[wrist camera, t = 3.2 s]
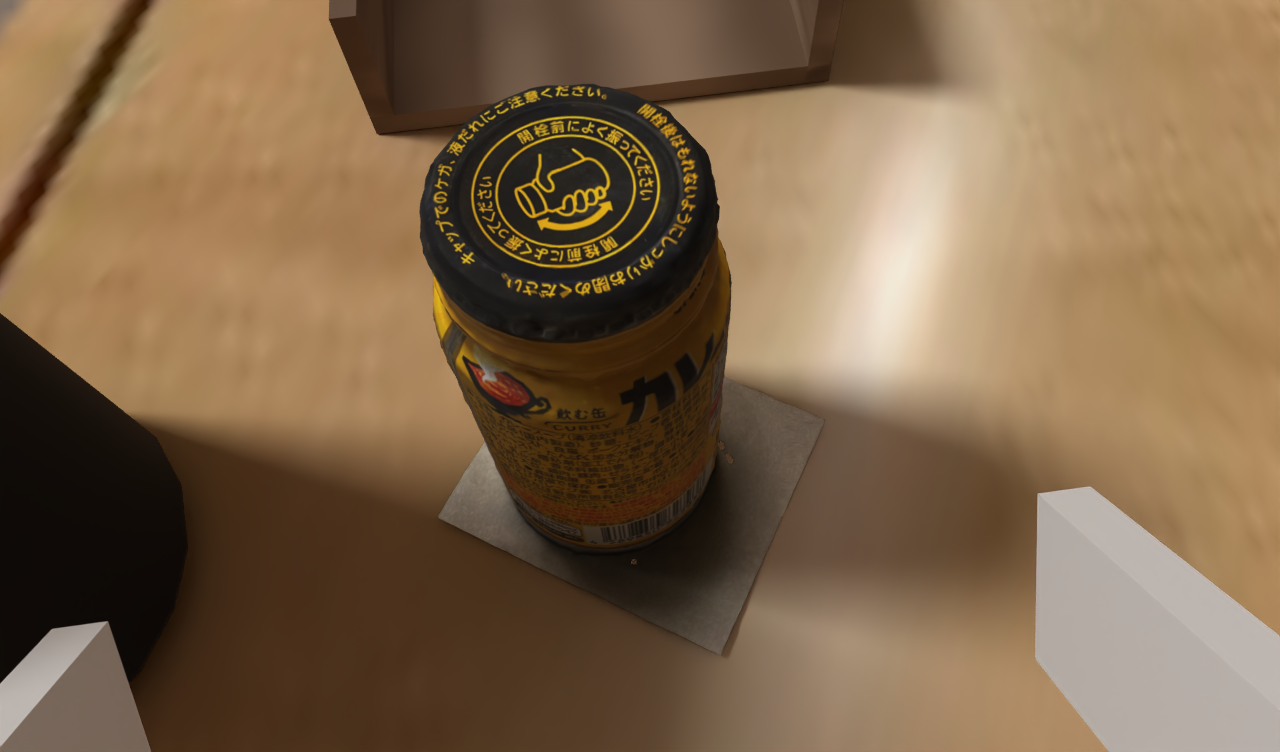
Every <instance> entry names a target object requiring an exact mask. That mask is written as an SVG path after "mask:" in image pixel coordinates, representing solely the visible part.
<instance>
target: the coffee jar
mask: <svg viewBox="0 0 1280 752" xmlns="http://www.w3.org/2000/svg"><path fill="white" fill-rule="evenodd" d="M187 549H188V544H187V534H186V525H185V515H184V506H183V496H182V489H181V484H180V482H179V480H178V478H177V476H176V474H175V472H174V470H173V468H172V466H171V465H170V463H169V461H168V459H167V457H166V455H165V453H164V451H163V449H162V447H161V446H160V444H159V442H158V440H157V438H156V437H155V436H153V435H152V434H151V433H150V432H148V431H147V430H146V429H145V428H144V427H142V426H141V425H140V424H139V423H137V422H136V421H135V420H134V419H132V418H131V417H130V416H129V415H127V414H126V413H125V412H124V411H123V410H121V409H120V408H119V407H118V406H116V405H115V404H114V403H113V402H111V401H110V400H109V399H108V398H106V397H105V396H104V395H103V394H101V393H100V392H99V391H97V390H96V389H95V388H94V387H92V386H91V385H90V384H89V383H87V382H86V381H85V380H84V379H82V378H81V377H80V376H79V375H77V374H76V373H75V372H74V371H72V370H71V369H70V368H69V367H67V366H66V365H65V364H64V363H62V362H61V361H60V360H58V359H57V358H56V357H55V356H53V355H52V354H51V353H50V352H48V351H47V350H46V349H45V348H43V347H42V346H41V345H40V344H38V343H37V342H36V341H35V340H33V339H32V338H31V337H30V336H28V335H27V334H26V333H24V332H23V331H22V330H21V329H19V328H18V327H17V326H16V325H14V324H13V323H12V322H11V321H9V320H8V319H7V318H6V317H4V316H3V315H2V314H1V313H0V683H1V682H2V681H3V680H4V679H5V678H6V677H7V676H8V675H9V674H10V673H11V672H12V671H13V670H14V669H15V668H16V666H17V665H18V664H19V663H20V662H21V661H22V660H23V659H24V658H25V657H26V656H27V655H28V654H29V653H30V652H31V651H32V650H33V648H34V647H35V646H36V645H37V644H38V643H39V642H40V641H41V640H42V639H43V638H44V637H45V636H46V635H47V634H48V633H49V632H50V630H51V629H55V628H62V627H70V626H77V625H84V624H91V623H99V622H106V621H108V623H109V626H110V629H111V632H112V635H113V638H114V641H115V644H116V647H117V650H118V653H119V656H120V659H121V662H122V665H123V668H124V671H125V674H126V677H127V680H128V683H130V682H131V681H132V679H133V678H134V677H135V676H136V675H137V674H138V673H139V672H140V671H141V669H142V667H143V666H144V664H145V662H146V660H147V658H148V656H149V654H150V653H151V651H152V649H153V647H154V645H155V643H156V641H157V640H158V638H159V636H160V634H161V632H162V630H163V629H164V627H165V625H166V623H167V621H168V619H169V617H170V616H171V614H172V612H173V610H174V608H175V603H176V599H177V594H178V590H179V585H180V581H181V576H182V572H183V567H184V563H185V558H186V554H187Z"/></svg>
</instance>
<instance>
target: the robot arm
mask: <svg viewBox="0 0 1280 752" xmlns="http://www.w3.org/2000/svg"><path fill="white" fill-rule="evenodd" d="M1035 659H1036V661H1037V662H1038V663H1039V664H1040V666H1041V667H1042V668H1043V669H1044V671H1045V672H1046V673H1047V674H1048V676H1049V677H1050V678H1051V680H1052V681H1053V682H1054V683H1055V685H1056V686H1057V687H1058V688H1059V690H1060V691H1061V692H1062V693H1063V695H1064V696H1065V697H1066V698H1067V700H1068V701H1069V702H1070V703H1071V705H1072V706H1073V707H1074V708H1075V710H1076V711H1077V712H1078V713H1079V715H1080V716H1081V717H1082V718H1083V720H1084V721H1085V722H1086V724H1087V725H1088V726H1089V727H1090V729H1091V730H1092V731H1093V732H1094V734H1095V735H1096V736H1097V737H1098V739H1099V740H1100V741H1101V742H1102V744H1103V745H1104V746H1105V747H1106V749H1107V750H1108V751H1109V752H1280V636H1279V635H1278V634H1277V633H1275V632H1274V631H1273V630H1271V629H1270V628H1269V627H1268V626H1266V625H1265V624H1264V623H1263V622H1261V621H1260V620H1259V619H1258V618H1256V617H1255V616H1254V615H1252V614H1251V613H1250V612H1249V611H1247V610H1246V609H1245V608H1244V607H1242V606H1241V605H1240V604H1239V603H1237V602H1236V601H1235V600H1233V599H1232V598H1231V597H1230V596H1228V595H1227V594H1226V593H1225V592H1223V591H1222V590H1221V589H1220V588H1218V587H1217V586H1216V585H1214V584H1213V583H1212V582H1211V581H1209V580H1208V579H1207V578H1206V577H1204V576H1203V575H1202V574H1201V573H1199V572H1198V571H1197V570H1195V569H1194V568H1193V567H1192V566H1190V565H1189V564H1188V563H1187V562H1185V561H1184V560H1183V559H1182V558H1180V557H1179V556H1178V555H1176V554H1175V553H1174V552H1173V551H1171V550H1170V549H1169V548H1168V547H1166V546H1165V545H1164V544H1163V543H1161V542H1160V541H1159V540H1157V539H1156V538H1155V537H1154V536H1152V535H1151V534H1150V533H1149V532H1147V531H1146V530H1145V529H1144V528H1142V527H1141V526H1140V525H1138V524H1137V523H1136V522H1135V521H1133V520H1132V519H1131V518H1130V517H1128V516H1127V515H1126V514H1125V513H1123V512H1122V511H1121V510H1119V509H1118V508H1117V507H1116V506H1114V505H1113V504H1112V503H1111V502H1109V501H1108V500H1107V499H1106V498H1104V497H1103V496H1102V495H1100V494H1099V493H1098V492H1097V491H1095V490H1094V489H1093V488H1092V487H1090V486H1089V487H1082V488H1075V489H1067V490H1060V491H1053V492H1045V493H1038V498H1037V566H1036V635H1035ZM0 752H151V749H150V746H149V743H148V740H147V737H146V734H145V731H144V728H143V725H142V722H141V719H140V716H139V713H138V710H137V707H136V704H135V701H134V698H133V695H132V692H131V689H130V686H129V683H128V680H127V677H126V674H125V671H124V668H123V665H122V662H121V659H120V656H119V653H118V650H117V647H116V644H115V641H114V638H113V635H112V632H111V629H110V626H109V623H108V621H106V622H99V623H91V624H84V625H77V626H70V627H62V628H55V629H51V630H50V632H49V633H48V634H47V635H46V636H45V637H44V638H43V639H42V640H41V641H40V642H39V643H38V644H37V645H36V646H35V647H34V648H33V650H32V651H31V652H30V653H29V654H28V655H27V656H26V657H25V658H24V659H23V660H22V661H21V662H20V663H19V664H18V665H17V666H16V668H15V669H14V670H13V671H12V672H11V673H10V674H9V675H8V676H7V677H6V678H5V679H4V680H3V681H2V682H1V683H0Z"/></svg>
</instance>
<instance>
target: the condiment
mask: <svg viewBox="0 0 1280 752" xmlns="http://www.w3.org/2000/svg"><path fill="white" fill-rule="evenodd" d="M717 200H718V198H717V194H716V188H715V180H714V177H713V175H712V170H711V163H710V160H709V156H708V154H707V152H706V150H705V149H704V148H703V147H702V146H701V145H700V144H699V143H698V142H697V141H696V140H695V139H694V138H693V137H692V136H691V135H690V134H689V133H688V131H687V130H686V129H685V128H684V127H683V126H682V125H681V124H680V123H679V122H678V121H677V120H676V119H675V118H674V117H673V116H672V114H671V113H670V112H669V111H667V110H666V109H664V108H662V107H659V106H657V105H655V104H654V103H652V102H650V101H648V100H645V99H642V98H640V97H639V96H637V95H633V94H631V93H629V92H624V91H620V90H616V89H613V88H610V87H601V86H598V85H596V84H578V85H563V86H558V85H546V86H540V87H534V88H530V89H527V90H525V91H523V92H520V93H518V94H515V95H513V96H510V97H507V98H505V99H503V100H501V101H499V102H497V103H495V104H493V105H491V106H489V107H487V108H486V109H484V110H483V111H481V112H479V113H478V114H476V115H475V116H473V117H472V118H470V119H469V120H468V121H467V122H466V123H465V124H464V125H463V126H462V127H461V128H460V129H459V130H458V131H457V132H456V134H455V135H454V137H453V138H452V139H451V140H450V142H449V143H448V144H447V145H446V146H445V147H444V149H443V150H442V151H441V152H440V154H439V155H438V156H437V157H436V158H435V160H434V162H433V163H432V164H431V165H430V169H429V172H428V174H427V176H426V179H425V189H424V192H423V195H422V199H421V203H420V218H421V227H420V229H421V230H420V239H421V242H422V246H423V254H424V256H425V258H426V260H427V263H428V265H429V267H430V268H431V270H432V273H433V277H434V285H433V317H434V321H435V324H436V330H437V333H438V336H439V339H440V344H441V348H442V349H443V351H444V353H445V356H446V358H447V362H448V364H449V366H450V368H451V369H452V371H453V373H454V374H455V376H456V378H457V380H458V383H459V386H460V388H461V390H462V392H463V396H464V399H465V401H466V403H467V404H468V405H469V407H470V409H471V411H472V414H473V416H474V418H475V421H476V423H477V425H478V427H479V429H480V431H481V433H482V435H483V437H484V440H485V442H484V444H483V445H482V447H481V449H480V450H479V452H478V453H477V455H476V456H475V457H474V459H473V460H472V462H471V463H470V465H469V467H468V468H467V470H466V471H465V472H464V474H463V476H462V478H461V479H460V481H459V483H458V484H457V486H456V487H455V489H454V490H453V492H452V494H451V495H450V497H449V499H448V500H447V502H446V504H445V505H444V507H443V509H442V510H441V512H440V514H439V516H438V517H437V518H439V519H441V520H443V521H445V522H448V523H450V524H452V525H454V526H456V527H458V528H460V529H461V530H463V531H465V532H468V533H470V534H472V535H474V536H476V537H478V538H480V539H481V540H483V541H485V542H487V543H489V544H491V545H493V546H495V547H497V548H500V549H502V550H504V551H507V552H509V553H510V554H512V555H514V556H516V557H518V558H520V559H522V560H524V561H526V562H528V563H530V564H532V565H534V566H536V567H538V568H540V569H543V570H545V571H547V572H549V573H550V574H552V575H554V576H557V577H559V578H561V579H563V580H565V581H567V582H570V583H572V584H574V585H575V586H577V587H579V588H582V589H584V590H586V591H589V592H591V593H593V594H595V595H597V596H600V597H602V598H604V599H606V600H608V601H610V602H611V603H613V604H615V605H617V606H619V607H621V608H623V609H625V610H627V611H629V612H631V613H633V614H635V615H637V616H639V617H641V618H643V619H645V620H647V621H649V622H651V623H653V624H655V625H658V626H660V627H662V628H664V629H666V630H668V631H671V632H673V633H675V634H678V635H680V636H682V637H684V638H686V639H688V640H690V641H692V642H694V643H695V644H697V645H700V646H702V647H704V648H706V649H708V650H710V651H712V652H714V653H716V654H718V655H721V653H722V650H723V648H724V646H725V644H726V641H727V639H728V637H729V635H730V633H731V630H732V627H733V625H734V624H735V621H736V619H737V617H738V615H739V613H740V610H741V608H742V606H743V604H744V601H745V599H746V597H747V595H748V592H749V590H750V588H751V586H752V583H753V581H754V578H755V576H756V574H757V572H758V570H759V568H760V566H761V563H762V561H763V559H764V556H765V554H766V552H767V550H768V548H769V545H770V543H771V541H772V539H773V536H774V534H775V532H776V530H777V527H778V525H779V523H780V521H781V518H782V515H783V513H784V512H785V510H786V507H787V505H788V503H789V500H790V498H791V496H792V494H793V491H794V488H795V487H796V484H797V482H798V480H799V478H800V476H801V473H802V471H803V469H804V467H805V464H806V462H807V460H808V457H809V455H810V453H811V451H812V448H813V446H814V444H815V442H816V439H817V437H818V435H819V433H820V430H821V428H822V426H823V424H824V422H825V420H824V419H821V418H819V417H817V416H814V415H812V414H809V413H807V412H805V411H804V410H801V409H799V408H797V407H794V406H792V405H789V404H786V403H783V402H780V401H778V400H776V399H773V398H771V397H769V396H768V395H766V394H764V393H761V392H759V391H756V390H753V389H749V388H747V387H744V386H742V385H740V384H738V383H735V382H733V381H732V380H729V379H727V378H725V377H724V369H725V362H726V354H727V338H728V326H729V320H730V310H731V284H732V282H731V274H730V271H729V266H728V262H727V260H726V253H725V250H724V248H723V246H722V243H721V241H720V240H719V238H718V228H717V223H718V220H719V209H720V206H719V205H718V204H717ZM720 440H721V441H722V442H724V445H725V449H724V451H723V450H720V449H719V446H718V443H719V442H720ZM725 453H730V455H731V456H732V458H733V459H734V461H733V463H732V464H729V463H728V461H727V460H726V458H725ZM632 559H635V560H637V564H636V565H633V564H631V560H632Z"/></svg>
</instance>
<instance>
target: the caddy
mask: <svg viewBox="0 0 1280 752" xmlns="http://www.w3.org/2000/svg"><path fill="white" fill-rule="evenodd" d="M843 1H844V0H329V21H330V23H331V25H332V28H333V30H334V33H335V35H336V37H337V40H338V42H339V44H340V47H341V49H342V52H343V54H344V56H345V59H346V61H347V64H348V66H349V68H350V71H351V73H352V76H353V78H354V80H355V83H356V85H357V88H358V90H359V92H360V95H361V97H362V99H363V102H364V104H365V107H366V109H367V111H368V114H369V116H370V119H371V121H372V123H373V126H374V128H375V131H376V133H377V134H382V133H391V132H399V131H408V130H416V129H424V128H433V127H441V126H450V125H458V124H465V123H466V122H467V121H468V120H469V119H470V118H472V117H473V116H475V115H476V114H478V113H479V112H481V111H483V110H484V109H486V108H487V107H489V106H491V105H493V104H495V103H497V102H499V101H501V100H503V99H505V98H507V97H510V96H513V95H515V94H518V93H520V92H523V91H525V90H527V89H530V88H534V87H540V86H546V85H558V86H563V85H578V84H596V85H598V86H601V87H610V88H613V89H616V90H620V91H624V92H629V93H631V94H633V95H637V96H639V97H640V98H642V99H645V100H648V101H650V102H652V101H661V100H669V99H677V98H686V97H694V96H703V95H711V94H720V93H728V92H736V91H745V90H753V89H762V88H770V87H779V86H787V85H795V84H804V83H812V82H821V81H828V78H829V73H830V68H831V62H832V57H833V52H834V47H835V42H836V37H837V32H838V27H839V22H840V16H841V11H842V6H843Z"/></svg>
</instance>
